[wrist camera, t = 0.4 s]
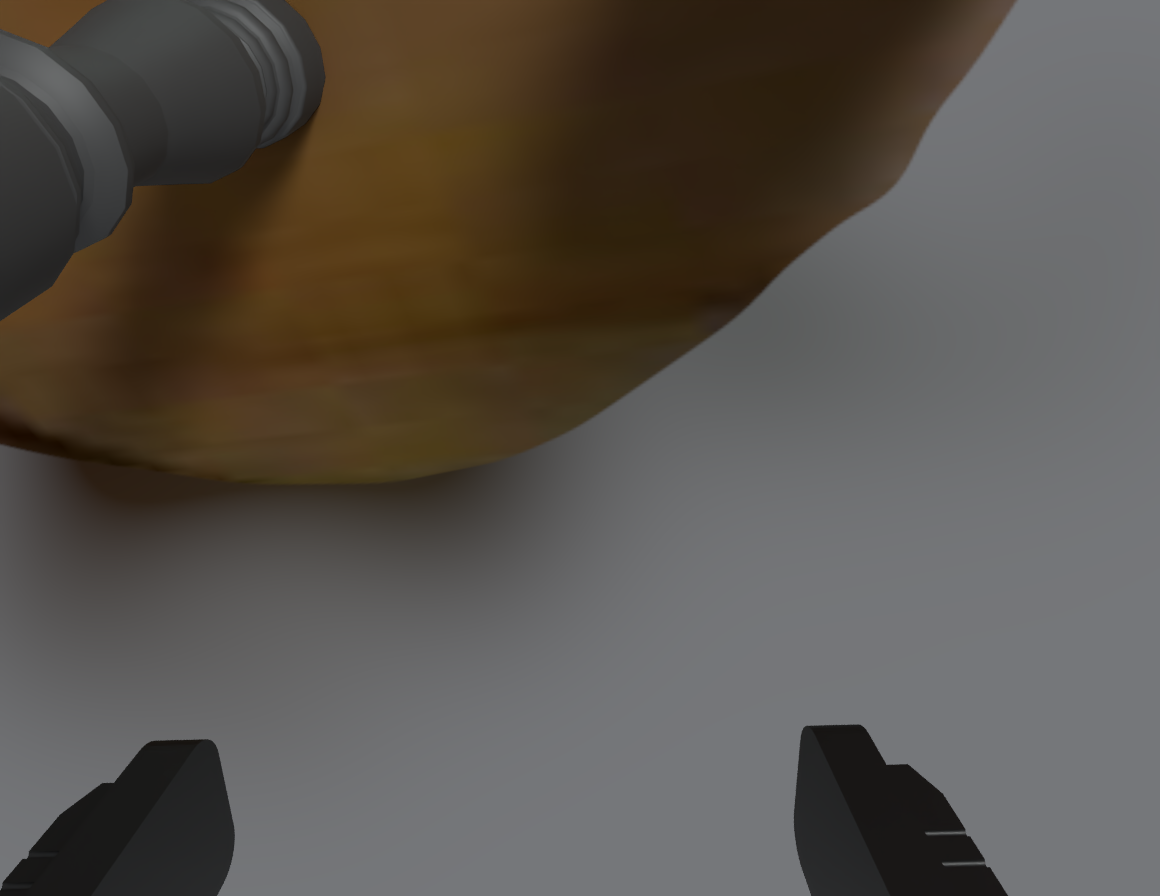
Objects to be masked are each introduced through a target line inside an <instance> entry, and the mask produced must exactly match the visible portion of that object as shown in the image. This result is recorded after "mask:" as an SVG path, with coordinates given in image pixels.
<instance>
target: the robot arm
mask: <svg viewBox="0 0 1160 896" xmlns="http://www.w3.org/2000/svg"><path fill="white" fill-rule="evenodd" d="M794 831H795V840H796V846H797V851H798V856H799V860H800V864H801V867H802V870H803V873H804V876H805V879H806V882H807V884H808V887H809V890H810V893H811V896H1008V895H1007V894H1006V892H1005V891H1004V889H1003V887H1002V886H1001V884H1000V882H999V881H998V879H997V878H996V876H995V875H994V873H993V872H992V870H991V868H990V867H986V865H985V859H984V857H983V856H982V854H981V853H980V851H979V850H978V848H977V847H976V845H975V844H974V842H973V840H972V839H971V837H969V836H967V835H966V832H965V828H964V827H963V825H962V823H961V822H960V820H959V818H958V817H957V815H956V814H955V812H954V811H953V809H952V808H951V806H950V804H949V803H948V801H947V800H946V798H945V797H944V795H943V794H942V793H941V792H940V791H939V790H938V789H937V788H935V787H934V786H933V785H932V784H931V783H929V782H928V781H927V780H926V779H925V778H923V777H922V776H921V775H920V774H919V773H918V772H916V771H915V770H914V769H913V768H912V767H911V766H909V765H908V764H900V765H886V763H885V761H884V760H883V758H882V756H881V754H880V753H879V751H878V749H877V747H876V746H875V744H874V742H873V740H872V739H871V737H870V735H869V733H868V732H867V730H866V729H865V728H864V727H863V726H861V725H824V726H822V725H821V726H805V727H804V728H803V730H802V734H801V740H800V751H799V762H798V773H797V785H796V796H795V809H794ZM234 838H235V834H234V825H233V820H232V815H231V811H230V805H229V801H228V796H227V791H226V786H225V782H224V777H223V772H222V767H221V762H220V758H219V753H218V749H217V747H216V745H215V744H214V743H213V741H211V740H208V739H207V740H206V739H205V740H166V741H151V742H149V743H147V744H146V745H145V746H144V747H143V748H142V749H141V750H140V751H139V752H138V754H137V755H136V756H135V757H134V759H133V760H132V761H131V762H130V764H129V765H128V766H127V767H126V768H125V770H124V771H123V772H122V773H121V775H120V776H119V777H118V778H117V780H116V781H115V782H114V783H102V784H101V785H100V786H98V787H96V788H95V789H94V790H92V791H91V792H90V793H88V794H87V795H86V796H85V797H83V798H82V799H80V800H79V801H78V802H76V803H75V804H74V805H72V806H71V807H70V808H68V809H67V810H66V811H64V812H63V813H62V814H60V815H59V817H58V818H57V819H56V820H55V821H54V823H53V824H52V825H51V826H50V827H49V829H48V830H47V831H46V832H45V833H44V834H43V835H42V837H41V838H40V839H39V840H38V842H37V843H36V844H35V845H34V846H33V847H32V848H31V850H30V851H29V856H28V858H27V859H22V860H21V862H20V863H19V864H18V865H17V866H16V867H15V869H14V870H13V871H12V872H11V873H10V874H9V876H8V877H7V878H6V879H5V880H4V882H3V886H2V889H1V890H0V896H217V895H218V892H219V891H220V889H221V887H222V885H223V883H224V881H225V879H226V877H227V874H228V871H229V868H230V865H231V860H232V856H233V851H234V840H235V839H234Z"/></svg>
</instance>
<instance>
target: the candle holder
mask: <svg viewBox="0 0 1160 896" xmlns="http://www.w3.org/2000/svg"><path fill="white" fill-rule="evenodd" d="M324 82H325V72H324V66H323V60H322V55H321V49H320V46H319V44H318V43H317V41H316V39H315V37H314V35H313V33H312V32H311V30H310V28H309V26H308V24H307V22H306V21H305V19H304V18H303V17H302V16H301V15H300V14H298V13H297V12H296V11H295V10H294V9H293V8H292V7H291V6H290V5H289V4H288V3H287V2H286V1H285V0H107V1H105V2H104V3H102V4H100V5H98V6H96V7H94V8H93V9H91V10H90V11H89V12H88V13H87V14H86V15H85V16H83V17H82V18H81V19H80V20H79V21H78V22H77V23H76V24H75V25H74V26H73V27H72V28H71V29H69V30H68V31H67V32H66V33H65V34H64V35H63V36H62V37H60V38H59V39H58V40H57V41H56V42H55V43H54V44H53V45H51V46H50V47H49V48H48V47H45V46H42V45H40V44H37V43H35V42H32V41H30V40H27V39H24V38H22V37H19V36H17V35H14V34H11V33H9V32H6V31H4V30H1V29H0V321H1V320H2V319H4V318H5V317H7V316H8V315H10V314H11V313H13V312H14V311H16V310H17V309H19V308H20V307H22V306H23V305H25V304H26V303H28V302H29V301H31V300H32V299H34V298H35V297H37V296H38V295H40V294H41V293H43V292H44V291H46V290H47V289H49V288H50V287H52V285H53V284H54V282H55V281H56V279H57V278H58V276H59V275H60V273H61V272H62V270H63V269H64V267H65V265H66V264H67V262H68V261H69V259H70V258H71V256H72V255H73V253H75V252H77V251H79V250H81V249H84V248H86V247H88V246H90V245H92V244H94V243H96V242H98V241H100V240H102V239H104V238H106V237H108V236H109V235H111V234H112V232H113V231H114V229H115V228H116V226H117V225H118V223H119V222H120V220H121V219H122V217H123V216H124V214H125V213H126V211H127V210H128V208H129V207H130V205H131V203H132V193H133V187H135V186H148V185H171V184H203V183H212V182H214V181H216V180H218V179H220V178H222V177H224V176H226V175H228V174H230V173H232V172H234V171H237V170H238V169H240V168H241V167H243V166H244V164H245V163H246V161H247V160H248V159H249V157H250V156H251V154H252V153H253V152H254V150H255V149H256V148H265V147H267V146H269V145H271V144H273V143H275V142H277V141H279V140H281V139H283V138H285V137H287V136H288V135H290V134H291V133H293V132H294V131H296V130H297V129H298V128H300V127H301V126H303V125H304V124H305V123H306V122H307V121H308V119H309V118H310V117H311V115H312V114H313V113H314V111H315V110H316V109H317V107H318V106H319V105H320V102H321V97H322V92H323V87H324Z"/></svg>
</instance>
